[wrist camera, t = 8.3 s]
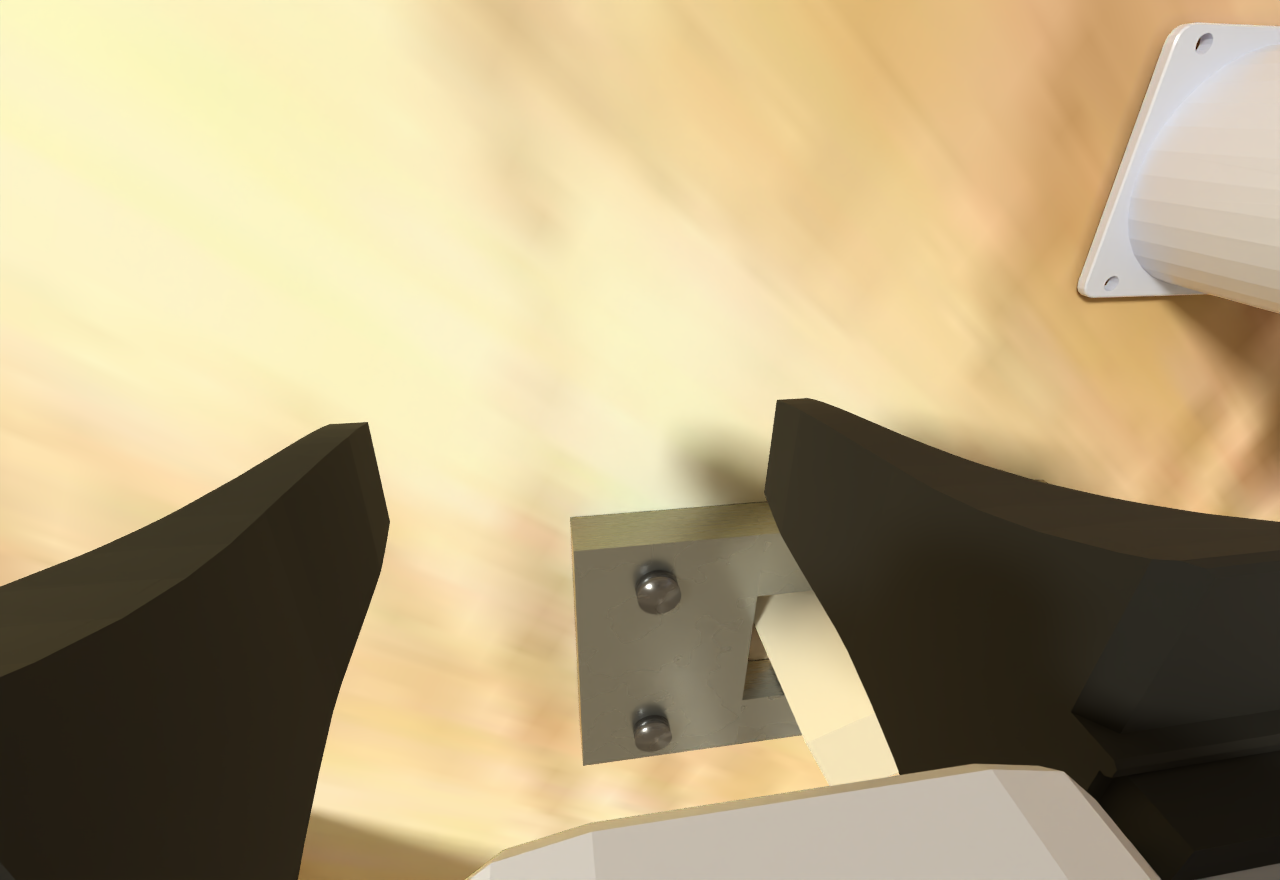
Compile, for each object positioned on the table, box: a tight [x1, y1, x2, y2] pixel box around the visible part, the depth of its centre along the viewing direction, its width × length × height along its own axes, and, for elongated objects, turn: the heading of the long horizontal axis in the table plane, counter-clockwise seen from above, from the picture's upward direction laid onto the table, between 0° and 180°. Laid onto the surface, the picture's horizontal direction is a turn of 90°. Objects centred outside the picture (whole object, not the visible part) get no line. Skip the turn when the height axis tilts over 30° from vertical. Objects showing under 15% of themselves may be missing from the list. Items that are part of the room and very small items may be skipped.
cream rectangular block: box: [753, 591, 899, 786], centre depth 24 cm, size 4×4×7 cm
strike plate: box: [570, 480, 1047, 766], centre depth 26 cm, size 20×12×3 cm, turn 89°
